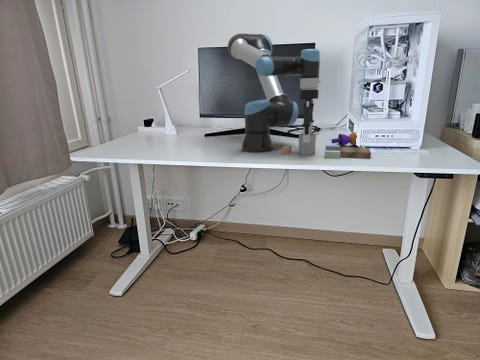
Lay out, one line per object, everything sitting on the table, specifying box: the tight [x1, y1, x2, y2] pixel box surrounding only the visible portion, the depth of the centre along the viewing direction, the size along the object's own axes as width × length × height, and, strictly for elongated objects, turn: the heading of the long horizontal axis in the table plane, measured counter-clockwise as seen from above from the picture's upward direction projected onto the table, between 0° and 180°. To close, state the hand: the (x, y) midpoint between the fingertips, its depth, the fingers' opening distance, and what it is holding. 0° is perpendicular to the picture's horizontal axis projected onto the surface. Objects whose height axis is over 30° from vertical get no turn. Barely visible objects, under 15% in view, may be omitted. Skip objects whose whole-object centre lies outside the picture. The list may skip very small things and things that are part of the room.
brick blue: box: [325, 144, 341, 151], centre depth 142 cm, size 6×3×3 cm, turn 69°
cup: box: [298, 132, 317, 157], centre depth 139 cm, size 7×10×9 cm
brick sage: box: [324, 149, 341, 160], centre depth 131 cm, size 6×3×3 cm, turn 78°
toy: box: [331, 131, 357, 147], centre depth 153 cm, size 11×8×15 cm
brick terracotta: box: [281, 145, 292, 155], centre depth 142 cm, size 6×3×3 cm, turn 160°
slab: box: [340, 146, 372, 160], centre depth 134 cm, size 12×10×2 cm
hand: (307, 139), depth 137 cm, fingers open, 13 cm apart
